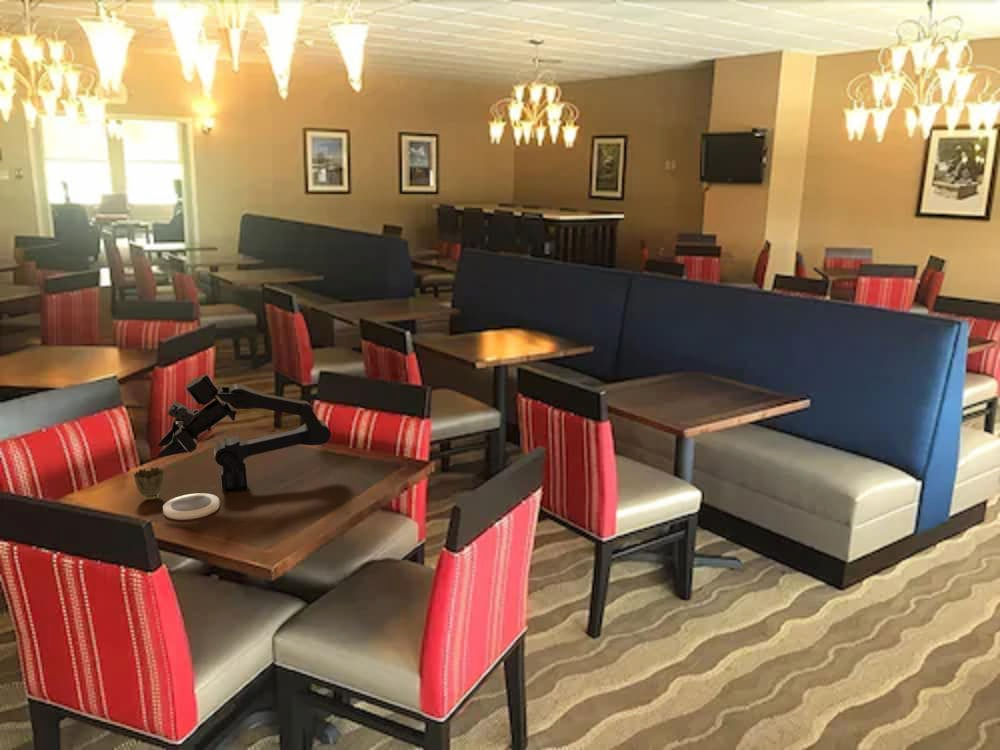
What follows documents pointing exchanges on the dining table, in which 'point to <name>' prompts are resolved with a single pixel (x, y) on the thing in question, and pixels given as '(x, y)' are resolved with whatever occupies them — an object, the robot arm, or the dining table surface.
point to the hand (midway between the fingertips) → (158, 450)
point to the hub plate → (191, 506)
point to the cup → (149, 483)
